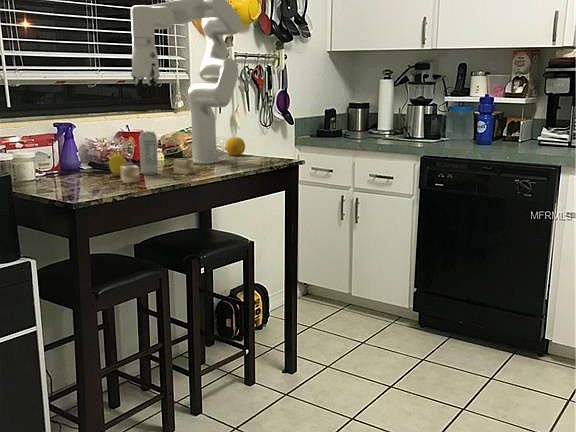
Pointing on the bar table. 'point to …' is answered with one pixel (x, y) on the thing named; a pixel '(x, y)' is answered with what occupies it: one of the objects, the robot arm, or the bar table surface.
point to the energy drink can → (148, 153)
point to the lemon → (116, 163)
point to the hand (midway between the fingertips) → (146, 96)
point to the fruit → (235, 146)
